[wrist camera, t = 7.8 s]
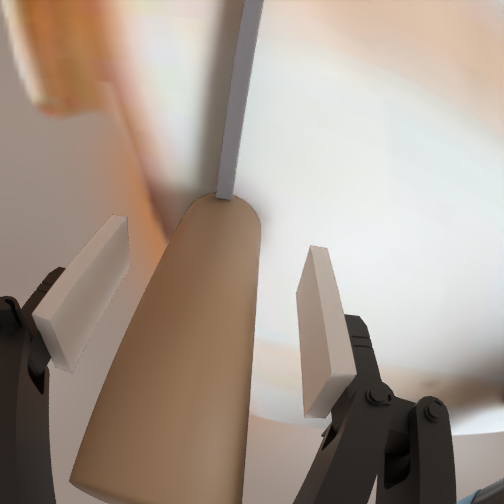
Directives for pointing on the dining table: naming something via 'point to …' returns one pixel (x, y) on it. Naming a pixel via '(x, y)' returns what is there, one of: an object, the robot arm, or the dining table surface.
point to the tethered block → (187, 348)
